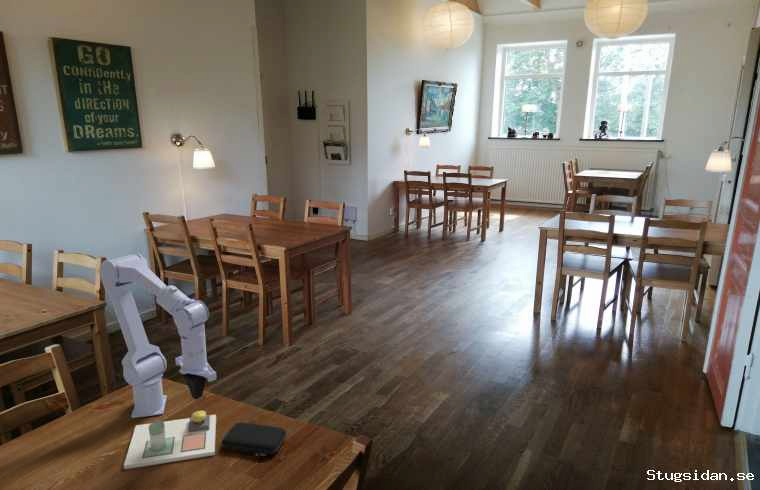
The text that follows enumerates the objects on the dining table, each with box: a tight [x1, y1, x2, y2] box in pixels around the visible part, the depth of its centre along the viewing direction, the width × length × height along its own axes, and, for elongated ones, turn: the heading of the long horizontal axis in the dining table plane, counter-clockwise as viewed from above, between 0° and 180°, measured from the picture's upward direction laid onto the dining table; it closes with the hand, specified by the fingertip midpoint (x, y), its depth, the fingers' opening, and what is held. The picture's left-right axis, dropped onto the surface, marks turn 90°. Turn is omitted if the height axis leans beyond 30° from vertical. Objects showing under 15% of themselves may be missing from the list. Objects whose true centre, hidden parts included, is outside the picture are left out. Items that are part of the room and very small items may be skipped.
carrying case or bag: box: [220, 422, 287, 457], centre depth 125 cm, size 11×3×15 cm
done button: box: [191, 410, 207, 423], centre depth 130 cm, size 4×4×2 cm
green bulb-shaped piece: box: [149, 420, 166, 451], centre depth 120 cm, size 4×4×6 cm
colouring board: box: [123, 414, 217, 470], centre depth 125 cm, size 16×20×2 cm
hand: (197, 397), depth 128 cm, fingers closed
